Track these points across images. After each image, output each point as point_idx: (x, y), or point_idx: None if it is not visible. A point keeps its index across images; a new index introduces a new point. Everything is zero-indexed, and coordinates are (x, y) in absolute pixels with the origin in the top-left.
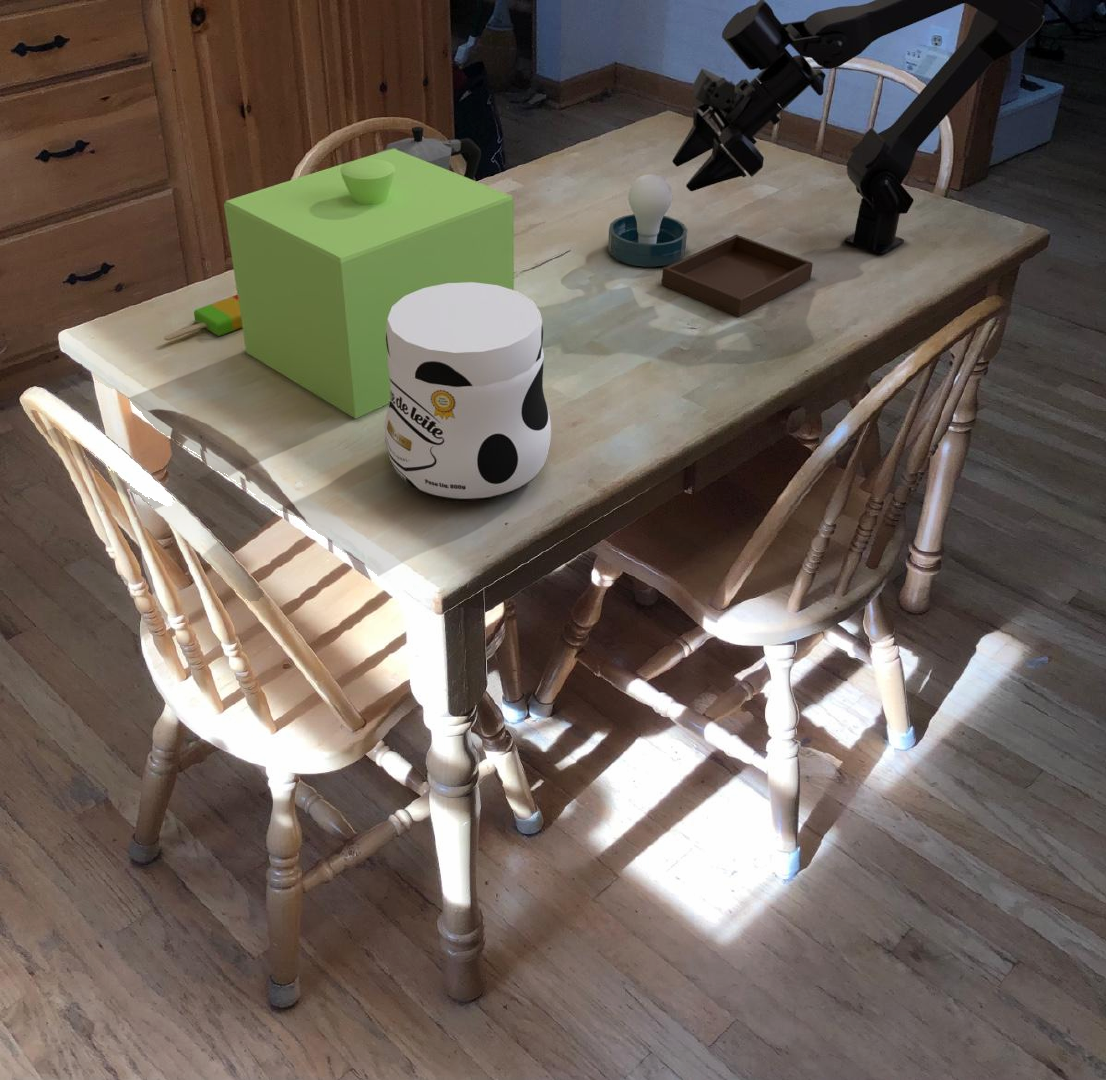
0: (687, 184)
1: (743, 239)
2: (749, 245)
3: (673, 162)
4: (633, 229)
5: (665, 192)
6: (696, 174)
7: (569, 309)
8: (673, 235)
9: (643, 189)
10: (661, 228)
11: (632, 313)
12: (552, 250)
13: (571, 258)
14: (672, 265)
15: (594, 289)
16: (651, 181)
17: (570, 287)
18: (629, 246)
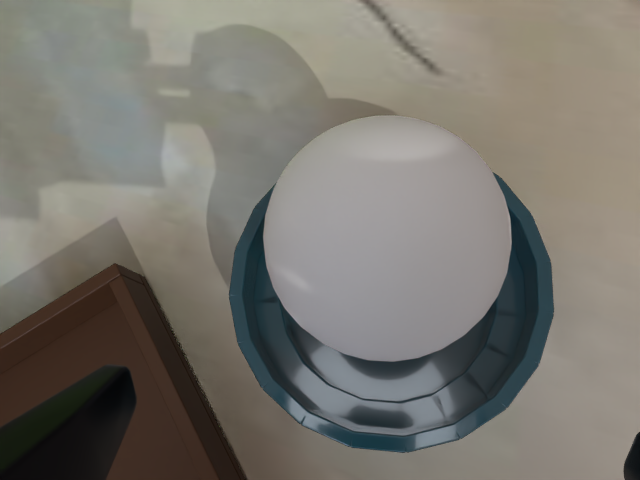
0: (102, 368)
1: None
2: None
3: (637, 436)
4: None
5: (280, 279)
6: (14, 432)
7: (96, 24)
8: (408, 404)
9: (305, 149)
10: (485, 376)
11: (22, 157)
12: (447, 28)
13: (382, 68)
14: (122, 300)
15: (177, 94)
16: (320, 182)
17: (205, 41)
18: None
